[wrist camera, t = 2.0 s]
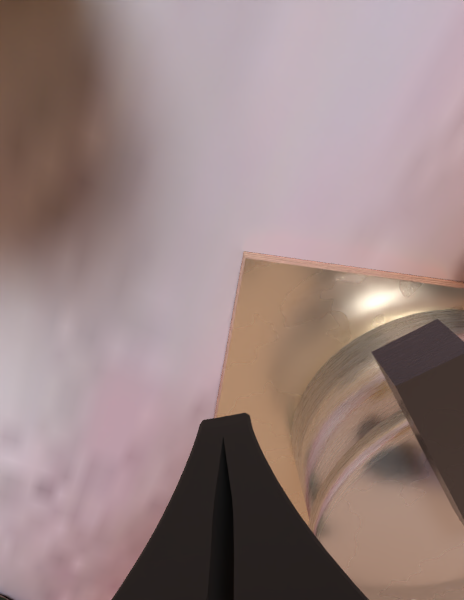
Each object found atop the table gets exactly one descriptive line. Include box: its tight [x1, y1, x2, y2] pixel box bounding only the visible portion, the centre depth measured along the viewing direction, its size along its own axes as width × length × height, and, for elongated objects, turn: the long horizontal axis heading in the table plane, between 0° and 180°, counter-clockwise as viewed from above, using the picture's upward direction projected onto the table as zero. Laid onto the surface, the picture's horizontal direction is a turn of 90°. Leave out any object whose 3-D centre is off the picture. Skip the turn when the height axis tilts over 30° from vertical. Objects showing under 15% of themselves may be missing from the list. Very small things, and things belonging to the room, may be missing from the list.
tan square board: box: [214, 251, 464, 525], centre depth 19 cm, size 19×22×6 cm
